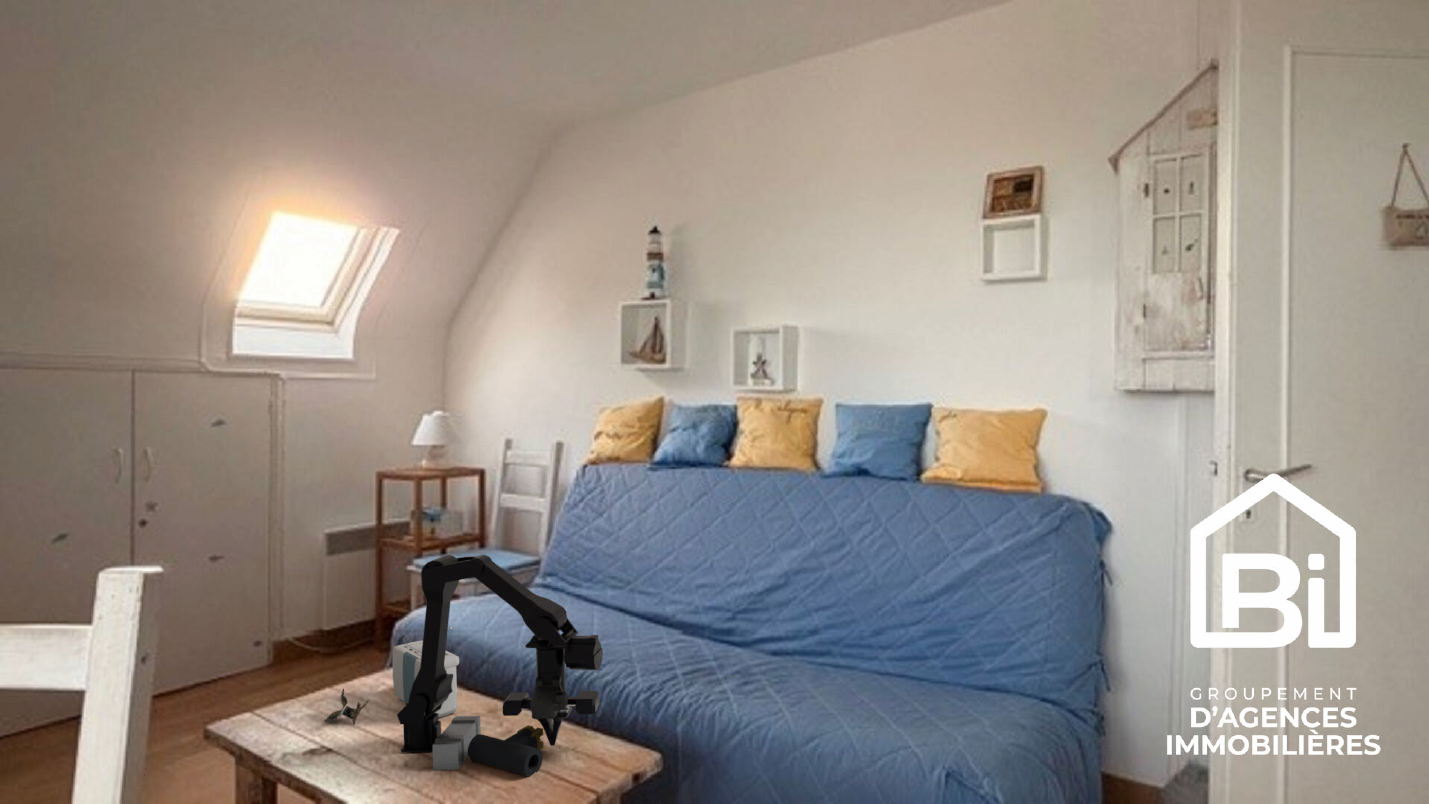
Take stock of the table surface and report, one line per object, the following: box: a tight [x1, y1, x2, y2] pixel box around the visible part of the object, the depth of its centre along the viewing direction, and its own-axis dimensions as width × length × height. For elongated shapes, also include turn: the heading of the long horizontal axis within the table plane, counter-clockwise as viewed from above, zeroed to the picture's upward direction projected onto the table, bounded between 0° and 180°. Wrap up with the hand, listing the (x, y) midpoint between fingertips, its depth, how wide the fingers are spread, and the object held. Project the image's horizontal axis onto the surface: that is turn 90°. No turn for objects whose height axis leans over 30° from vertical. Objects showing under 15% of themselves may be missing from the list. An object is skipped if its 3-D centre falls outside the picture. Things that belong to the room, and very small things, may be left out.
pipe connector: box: [468, 724, 545, 777], centre depth 161 cm, size 12×5×15 cm
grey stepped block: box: [432, 715, 482, 771], centre depth 164 cm, size 5×14×5 cm, turn 179°
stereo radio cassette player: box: [392, 626, 460, 719], centre depth 190 cm, size 21×8×20 cm, turn 43°
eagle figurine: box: [324, 688, 370, 725], centre depth 182 cm, size 8×7×9 cm
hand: (552, 745), depth 163 cm, fingers closed
